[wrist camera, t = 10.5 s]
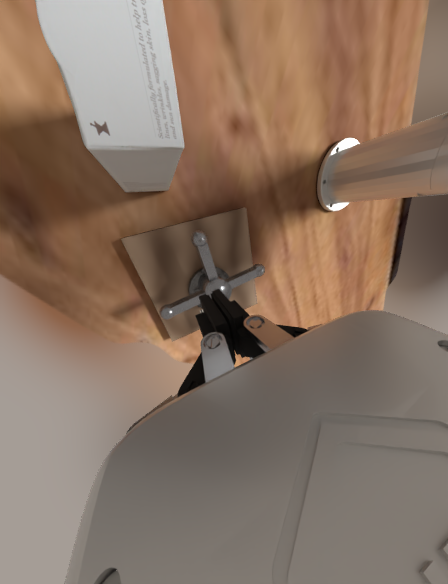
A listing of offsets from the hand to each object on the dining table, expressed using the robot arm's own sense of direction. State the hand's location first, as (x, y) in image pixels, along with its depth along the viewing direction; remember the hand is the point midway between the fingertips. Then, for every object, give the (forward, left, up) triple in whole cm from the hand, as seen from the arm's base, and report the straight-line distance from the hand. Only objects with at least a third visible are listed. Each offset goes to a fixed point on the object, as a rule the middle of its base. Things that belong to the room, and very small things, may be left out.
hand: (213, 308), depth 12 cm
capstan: (-4, +5, -16) cm, 17 cm away
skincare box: (0, -14, -18) cm, 23 cm away
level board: (-4, +5, -18) cm, 19 cm away
